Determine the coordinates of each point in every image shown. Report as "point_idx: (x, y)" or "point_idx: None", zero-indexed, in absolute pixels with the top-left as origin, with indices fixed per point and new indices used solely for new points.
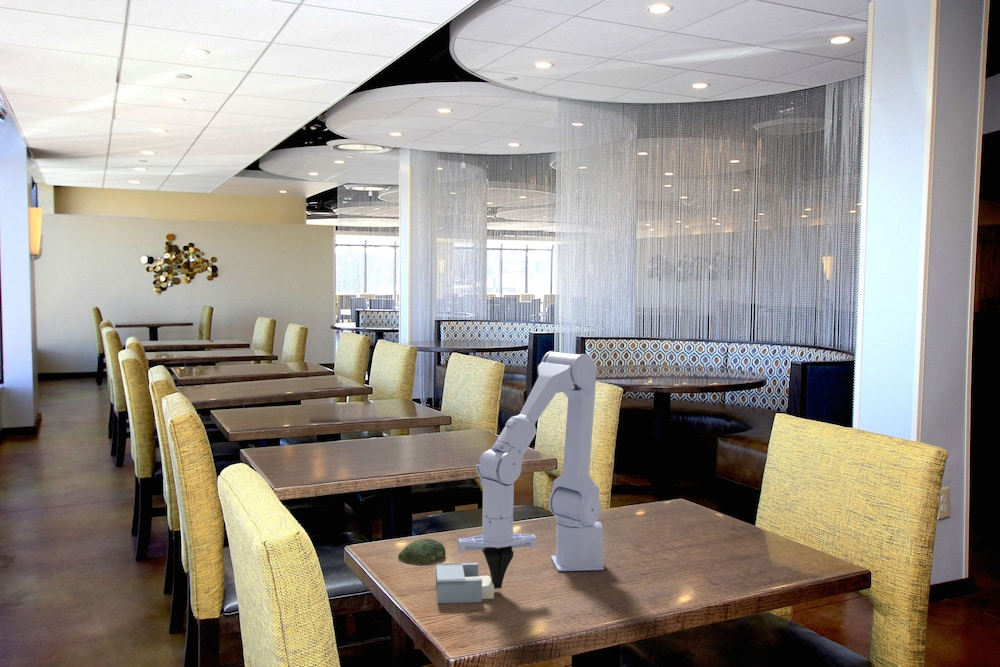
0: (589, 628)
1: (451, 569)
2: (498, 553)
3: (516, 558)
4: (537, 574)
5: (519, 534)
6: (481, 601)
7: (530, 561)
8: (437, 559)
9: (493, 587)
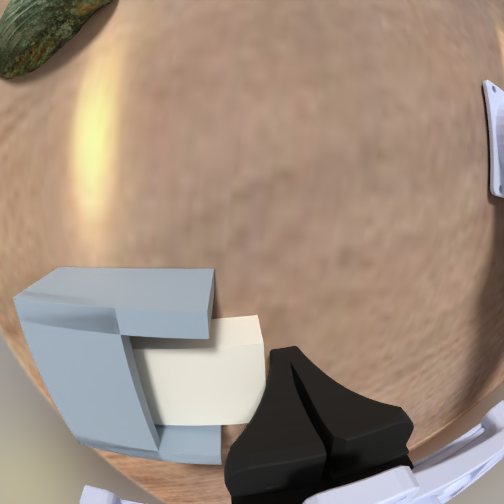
0: None
1: (84, 376)
2: (322, 476)
3: (396, 32)
4: (446, 198)
5: (488, 462)
6: None
7: (437, 74)
8: (83, 22)
9: None
